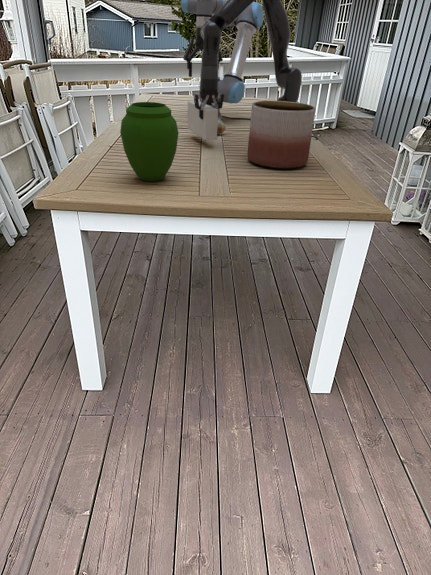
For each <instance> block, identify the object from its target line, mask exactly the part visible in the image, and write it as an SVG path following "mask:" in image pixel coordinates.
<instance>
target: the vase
mask: <svg viewBox="0 0 431 575" xmlns="http://www.w3.org/2000/svg"><path fill="white" fill-rule="evenodd" d="M125 113H126V114H125V115H124V117H122V119H121V122H120V123H121V124H120V130H119V133H120V138H121V142H122V147H123V150H124V154H125V155H126V158H127V160H128V163H129V165H130V167H131V168H132V170H133V172H134V173H135V175H136V176H137V177H138V178H139V179H141V180H143V181H145V182H159V181H161V180H163V179H164V178H165V176H166V175H167V174H168V173H169V170H170V169H171V167H172V165H173V162H174V159H175V157H176V156H175V155H176V153H177V147H178V140H179V129H178V122H177V120H176V119H175V117H174V116H173V115H172V109H171V108H170V107H169V106H167V105H166V104H164V103H162V102H155V101H138V102H132V103H131V104H130V105H128V107H127V108H125Z"/></svg>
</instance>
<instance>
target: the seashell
mask: <svg viewBox="0 0 431 575" xmlns="http://www.w3.org/2000/svg"><path fill="white" fill-rule="evenodd" d="M226 129H227V127H226V124H225V123H224V122H223V120H222V118H221V119H220V118H218V125H217V135H220V134H223V133H224V132H225V131H226Z"/></svg>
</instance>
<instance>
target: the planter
mask: <svg viewBox="0 0 431 575" xmlns="http://www.w3.org/2000/svg"><path fill="white" fill-rule="evenodd" d="M316 109H317V108H316V107H315V106H313V105H311V104H308V103H302V102H297V103H296V102H287V101H277V100H259V101H255V102H252V104H251V113H250V119H251V120H250V122H249V123H250V124H249V131H248V132H249V133H248V142H247V153H246V155H247V159H248V160H249V161H250V162H251V163H253V164H255V165H257V166H259V167H264V168H267V169H268V168H269V169H274V170H275V169H277V170H292V169H298V168H301V167H303V166H305V165H306V164H307V163H308V161H309V155H310V151H311V142H312V137H311V136H313V129H314V122H315V116H316Z"/></svg>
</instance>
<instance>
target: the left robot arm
mask: <svg viewBox="0 0 431 575" xmlns="http://www.w3.org/2000/svg"><path fill="white" fill-rule="evenodd" d="M226 2H227V1H226V0H180V7H181V11H182V12H183V13H185V14H194V15H196V21H195V22H196V23H195V24H196V28H195V39H194V38H189V44H188V46H187V48H186V51H185V53H184V56H183V58H182V59H183V61H185V62H186V69H187V70H188V77H190V78H192V77H193V62H192V61H193V59H194V57H195V56H196V54H197V53H198V52H199V51H200V50H201V51H203V49H204V40H203V38H202V37H201V28H202V26H203V25H204V23H205V22H206V21H207V20H209V19H210V18H211V17H212V16H213V15H214V14H216V13H217V12H218V11H219V9H220V8H221V7H222V6H223V5H224V4H225V3H226ZM263 23H264V8H263V5H262V4H261V3H260V2H257V1H254V2H253V3H252V4H251V5H249V6H248V7H247V8H246V9H245V10H244V11H243V12H242V13H241V15H240V16H239V17H238V18H237V19H236V20H235V21H234V22H233V23H232V24H231V25H230V26H233V27H236V29H237V33H236V36H235V41H234V44H233V49H232V52H231V57H230V59H229V64H228V69H227V72H226V73H225V74H223V77H222V79H221V77H220V76H218V90H217V91H218V93H219V94H220V93H221V94H224V100H223V103H225V104H226V103H227V104H238V103H240V102H241V101H242V100H243V98H244V95H245V92H246V90H245V89H246V86H245V83H244V80H243V73H244V69H245V65H246V61H247V58H248V54H249V49H250V46H251V43H252V39H253V35H254V34H256V33H257V30H258V28H261V27H263V26H262V25H263ZM195 44H196V46H195V47H194V45H195ZM193 47H194V49H193ZM192 49H193V50H192ZM191 51H192V52H191ZM223 60H224V59H223V57H222V54H221V50H220V49H219V51H218V70H220V63H221V62H223ZM198 87H199V92H200V91H201V78H200V80H199V86H198ZM201 100H202V98H201V97H199V99H198V101H200V102H201ZM218 101H219V98H218V97H217V98H216V102H217V106H218ZM202 102H203V101H202ZM206 104H207V105H209V106H211V107H213V105H212V103H206ZM213 108H214V107H213ZM218 118H220V119H221V120H222V118H224V119H229V120H243V121H244V120H245V121H251V118H248V117H231V116H225V115H222V114H221V110H220V109H218Z"/></svg>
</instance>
